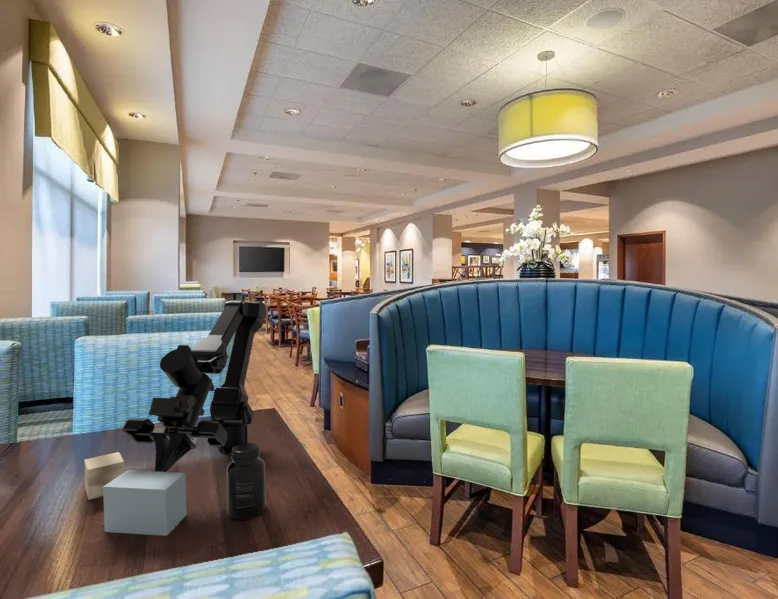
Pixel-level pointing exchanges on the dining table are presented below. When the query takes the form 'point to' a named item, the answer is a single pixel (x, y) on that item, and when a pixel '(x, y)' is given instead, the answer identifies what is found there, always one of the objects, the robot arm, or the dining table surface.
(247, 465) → the supplement bottle
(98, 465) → the birch cube
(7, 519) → the dining table surface
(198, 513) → the dining table surface
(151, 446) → the dining table surface
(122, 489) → the gray block
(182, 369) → the robot arm
